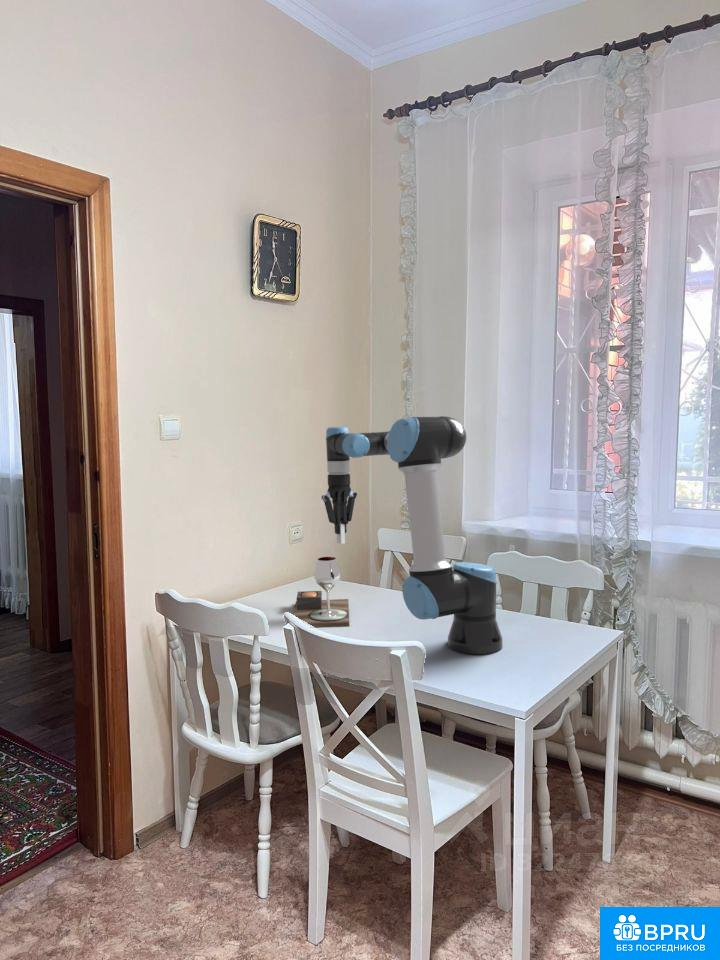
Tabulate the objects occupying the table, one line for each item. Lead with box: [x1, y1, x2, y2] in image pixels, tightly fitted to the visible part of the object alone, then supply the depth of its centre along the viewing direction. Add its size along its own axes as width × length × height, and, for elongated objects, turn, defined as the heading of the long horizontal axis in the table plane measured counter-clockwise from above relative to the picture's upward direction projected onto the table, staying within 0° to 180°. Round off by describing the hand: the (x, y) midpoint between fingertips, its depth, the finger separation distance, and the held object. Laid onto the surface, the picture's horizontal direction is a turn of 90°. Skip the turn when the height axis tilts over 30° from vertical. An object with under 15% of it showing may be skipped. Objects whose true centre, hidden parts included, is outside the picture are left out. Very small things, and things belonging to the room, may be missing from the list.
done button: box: [302, 592, 317, 597], centre depth 239 cm, size 5×5×3 cm
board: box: [292, 590, 350, 628], centre depth 233 cm, size 26×18×5 cm
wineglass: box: [314, 556, 341, 617], centre depth 228 cm, size 8×8×18 cm
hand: (341, 543), depth 241 cm, fingers closed
